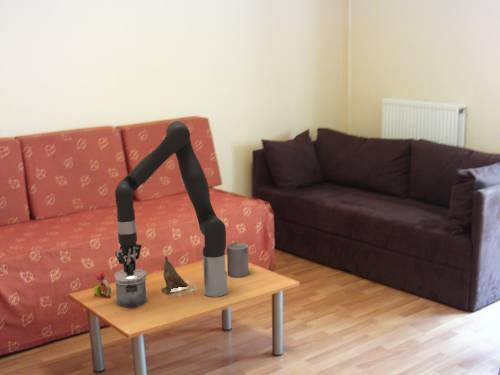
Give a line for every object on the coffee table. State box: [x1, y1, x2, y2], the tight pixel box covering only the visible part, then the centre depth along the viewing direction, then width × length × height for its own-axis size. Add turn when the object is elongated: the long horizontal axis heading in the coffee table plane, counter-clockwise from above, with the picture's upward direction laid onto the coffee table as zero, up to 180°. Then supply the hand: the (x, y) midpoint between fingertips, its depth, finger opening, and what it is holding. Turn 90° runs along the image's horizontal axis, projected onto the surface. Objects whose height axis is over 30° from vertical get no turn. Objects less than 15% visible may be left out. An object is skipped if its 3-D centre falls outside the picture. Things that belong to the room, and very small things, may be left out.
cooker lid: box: [113, 261, 147, 282], centre depth 291 cm, size 13×13×6 cm
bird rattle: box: [93, 270, 112, 298], centre depth 301 cm, size 6×11×9 cm
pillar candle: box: [226, 242, 250, 279], centre depth 322 cm, size 10×10×15 cm
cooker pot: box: [114, 276, 148, 308], centre depth 293 cm, size 18×13×10 cm
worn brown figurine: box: [161, 255, 189, 295], centre depth 304 cm, size 12×6×18 cm, turn 122°
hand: (130, 271), depth 291 cm, fingers closed on cooker lid, 3 cm apart
